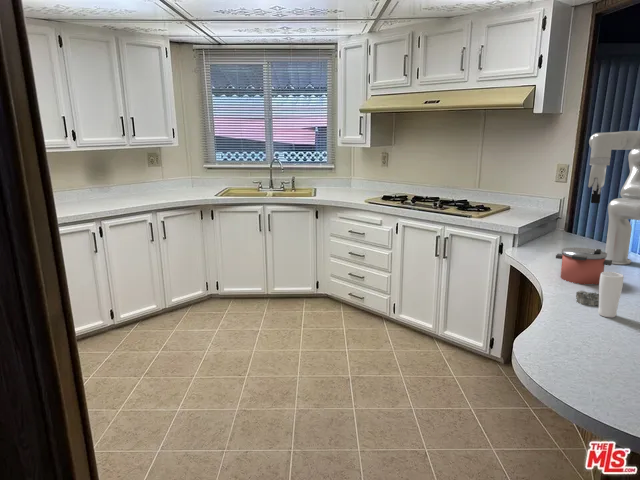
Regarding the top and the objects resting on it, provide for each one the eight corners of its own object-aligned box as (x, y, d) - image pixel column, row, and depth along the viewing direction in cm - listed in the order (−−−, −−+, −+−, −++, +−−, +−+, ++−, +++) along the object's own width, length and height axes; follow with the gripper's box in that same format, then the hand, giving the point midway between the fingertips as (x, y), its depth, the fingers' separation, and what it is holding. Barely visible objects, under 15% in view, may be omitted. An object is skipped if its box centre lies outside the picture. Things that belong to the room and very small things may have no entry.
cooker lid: (566, 248, 201) (566, 242, 200) (609, 253, 190) (610, 246, 189) (556, 256, 186) (556, 249, 186) (602, 262, 175) (603, 255, 175)
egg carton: (575, 304, 164) (576, 293, 163) (575, 297, 170) (576, 287, 169) (608, 308, 158) (609, 298, 158) (608, 302, 165) (609, 292, 164)
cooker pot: (560, 269, 205) (562, 247, 203) (612, 277, 192) (615, 253, 190) (550, 279, 192) (552, 255, 190) (605, 288, 179) (609, 262, 176)
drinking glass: (622, 319, 148) (627, 277, 145) (600, 318, 150) (605, 277, 146) (613, 311, 155) (618, 271, 152) (592, 311, 156) (597, 271, 153)
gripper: (593, 160, 199) (588, 200, 203) (586, 162, 188) (582, 204, 192) (612, 161, 194) (607, 201, 199) (607, 162, 183) (602, 205, 187)
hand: (595, 202), depth 195 cm, fingers closed
